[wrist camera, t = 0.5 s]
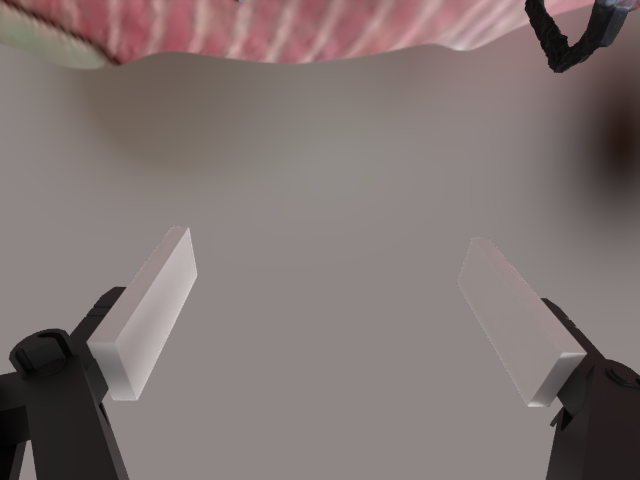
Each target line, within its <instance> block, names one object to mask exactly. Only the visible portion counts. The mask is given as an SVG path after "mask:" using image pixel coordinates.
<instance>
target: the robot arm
mask: <svg viewBox="0 0 640 480" xmlns="http://www.w3.org/2000/svg"><path fill="white" fill-rule="evenodd" d="M196 277H197V270H196V264H195V259H194V253H193V247H192V242H191V236H190V231H189V227H176V226H175V227H174V226H172V227H171V228H170V229H169V231H168V232H167V233H166V235H165V236H164V237H163V239H162V240H161V241H160V243H159V244H158V246H157V247H156V248H155V250H154V251H153V252H152V254H151V255H150V256H149V258H148V259H147V260H146V262H145V263H144V265H143V266H142V267H141V269H140V270H139V271H138V273H137V274H136V276H135V277H134V278H133V280H132V281H131V282H130V284H129V285H128V286H127V287H114V288H112V289H111V290H110V291H108V292H107V293H105V294H104V295H102V296H101V297H100V299H99V300H98V301H97V302H96V304H95V305H94V307H93V308H92V309H91V310H90V311H89V313H88V314H87V316H86V317H84V319H83V320H82V321H81V322H80V323H79V325H78V326H77V327H76V328H75V330H74V331H73V332H72V333H71V335H70V336H69V335H68V334H67V332H66V331H65V330H61V329H47V330H43V331H40V332H36V333H34V334H32V335H30V336H28V337H26V338H25V339H23V340H22V341H21V342H19V343H18V344H17V345H16V346H15V347H14V348H13V350H12V351H11V352H10V356H9V360H10V361H11V363H12V364H13V366H14V368H15V369H16V371H17V372H12V373H8V374H3V375H0V480H19V476H20V471H21V466H22V461H23V456H24V451H25V446H26V442H27V441H28V440H31V443H32V450H33V456H34V464H35V470H36V477H37V480H129V477H128V474H127V471H126V468H125V466H124V463H123V460H122V457H121V454H120V451H119V448H118V446H117V443H116V439H115V437H114V434H113V431H112V428H111V425H110V422H109V419H108V416H107V413H106V410H105V408H104V405H103V403H102V400H103V398H104V396H105V394H106V393H107V391H108V390H109V392H110V394H111V396H112V398H113V400H134V401H137V400H138V398H139V396H140V394H141V392H142V390H143V388H144V386H145V383H146V381H147V379H148V377H149V375H150V373H151V371H152V368H153V367H154V365H155V362H156V360H157V358H158V356H159V354H160V352H161V350H162V348H163V346H164V344H165V342H166V340H167V338H168V336H169V333H170V331H171V329H172V327H173V325H174V323H175V321H176V319H177V317H178V315H179V312H180V310H181V308H182V306H183V304H184V302H185V300H186V298H187V296H188V294H189V292H190V290H191V288H192V286H193V283H194V281H195V279H196ZM457 285H458V286H459V288H460V290H461V292H462V293H463V295H464V297H465V299H466V300H467V302H468V304H469V306H470V307H471V309H472V311H473V313H474V314H475V316H476V318H477V320H478V321H479V323H480V325H481V327H482V328H483V330H484V332H485V334H486V335H487V337H488V339H489V340H490V342H491V344H492V346H493V347H494V349H495V351H496V353H497V354H498V356H499V358H500V359H501V361H502V363H503V365H504V366H505V368H506V370H507V372H508V373H509V375H510V377H511V379H512V380H513V382H514V384H515V385H516V387H517V389H518V391H519V392H520V394H521V396H522V398H523V399H524V401H525V403H526V405H527V406H539V407H540V406H541V407H549V406H550V404H551V403H552V402H553V400H554V399H555V397H556V396H557V397H558V398H559V399H560V401H561V402H562V404H563V405H564V406H563V407H562V408H561V410H560V411H559V412H558V414H557V415H556V416H555V418H554V419H553V421H552V422H551V424H550V425H551V426H552V427H554V425H555V424H556V423H557V426H556V431H555V436H554V441H553V446H552V451H551V456H550V461H549V466H548V471H547V476H546V480H640V376H639V375H638V374H637V373H636V372H634V371H633V370H632V369H631V368H629V367H627V366H625V365H623V364H622V363H619V362H616V361H613V360H608V359H605V358H604V356H603V355H602V354H601V353H600V352H599V351H598V350H597V349H596V348H595V346H594V345H593V344H592V343H591V342H590V341H589V340H588V339H587V338H586V336H585V335H584V334H583V333H582V332H581V331H580V330H579V329H577V328H576V325H575V324H574V323H573V322H572V321H571V320H569V318H568V316H567V315H566V314H565V313H564V312H563V311H562V310H561V309H560V308H559V307H558V306H557V305H555V304H554V303H552V302H551V301H549V300H548V299H546V298H539V297H538V295H537V294H536V293H535V292H534V291H533V290H532V288H531V287H530V286H529V285H528V284H527V283H526V281H524V279H523V278H522V277H521V276H520V275H519V273H518V272H517V271H516V270H515V269H514V267H513V266H512V265H511V264H510V263H509V262H508V260H507V259H506V258H505V257H504V256H503V255H502V253H501V252H500V251H499V250H498V249H497V248H496V246H495V245H494V244H493V243H492V242H491V241H490V240H489V238H475V237H472V240H471V243H470V246H469V249H468V252H467V254H466V257H465V260H464V263H463V266H462V269H461V272H460V275H459V278H458V280H457Z"/></svg>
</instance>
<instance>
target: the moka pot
mask: <svg viewBox="0 0 640 480" xmlns="http://www.w3.org/2000/svg"><path fill="white" fill-rule="evenodd" d="M525 5H526V6H525V11H526V13H527V14H528V17H529V18H530V19H529V21H530V23H531V26H532V27H533V28H534V30H535V33H536V36H537V38H538V40H539V41H541V42H540V44H541V47H542V49H543V50H544V52H545V53H546V56H547V57H548V65H549V66H550V68H551V69H552V70H554V73H555V72H556V73H563V72H564V71H566V70H567V69H569V68H570V67H572V66H574V65H576V64H578V63H582V62H583V61H585V60H586V59H587V58H588V57H589V56H590V55H591V54H593V52H594V50H596V49H597V48H599V47H607V46H609V45H611V44H612V43H613V41H614V39H615V38H616V36H617V34H618V33H619V31H620V29H621V27H622V26H623V23H624V21H625V18H626V16H627V13H628V12H630V11H634V10H637V9H638V8H639V7H640V0H595V3H594V6H593V9H592V14H591V17H590V20H589V23H588V27H587V30H586V31H585V33H584V34H583V36H582V37H581V39H580V40H579V42H577V43H576V44H574V46H572V47H569V46H568V41H567V38H568V37H567V36H565V35H562V34H561V33H560V32H561V31H560V30H559V28H558V27H557V25H556V24H555V22H554V21H553V18H552V17H550V15H549V14H548V13H547V12H546V9H545V6H544V0H526V2H525Z"/></svg>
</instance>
